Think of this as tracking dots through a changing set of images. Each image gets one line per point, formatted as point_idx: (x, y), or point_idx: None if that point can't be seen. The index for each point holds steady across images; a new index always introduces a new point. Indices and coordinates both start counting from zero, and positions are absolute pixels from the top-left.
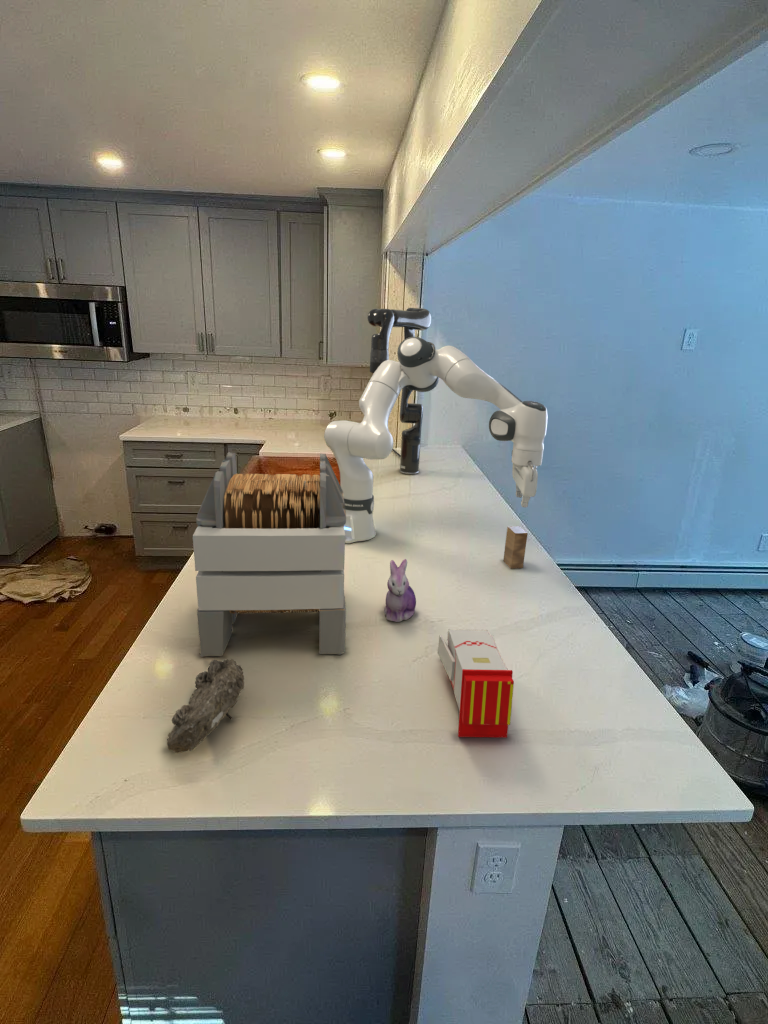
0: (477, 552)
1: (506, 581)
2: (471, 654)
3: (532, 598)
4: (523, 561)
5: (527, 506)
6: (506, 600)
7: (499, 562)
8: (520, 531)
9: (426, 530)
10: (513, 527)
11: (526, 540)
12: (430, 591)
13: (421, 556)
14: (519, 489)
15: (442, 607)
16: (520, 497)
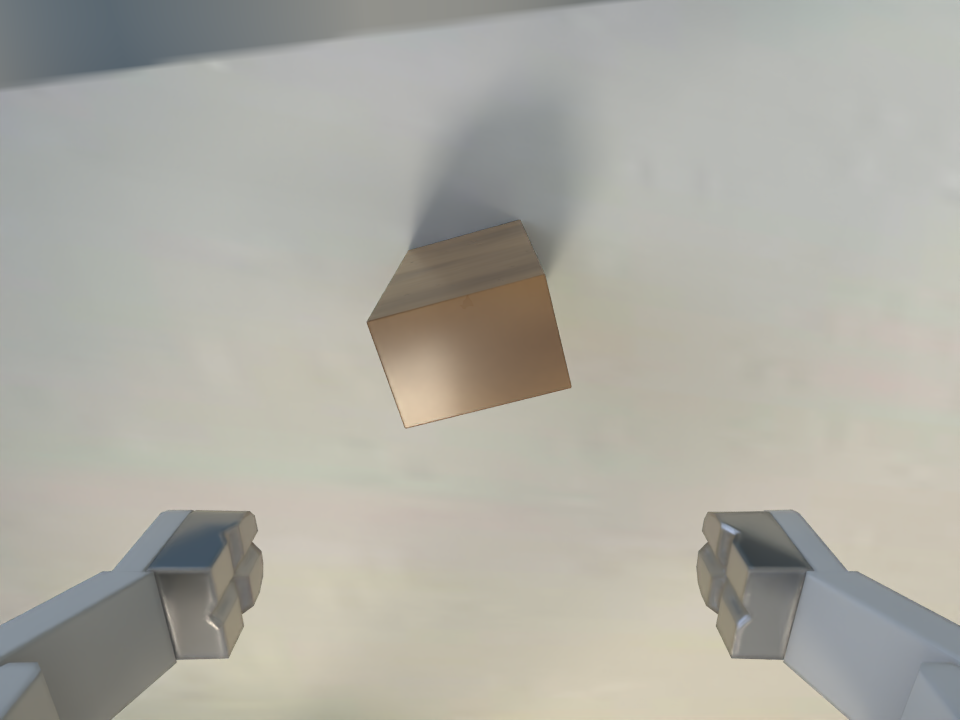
0: (339, 448)
1: (702, 342)
2: None
3: (909, 234)
4: (523, 228)
5: (796, 514)
6: (912, 372)
7: None
8: (513, 335)
9: None
10: (419, 382)
11: (537, 259)
12: None
13: (448, 679)
14: (131, 644)
15: None
16: (253, 522)
